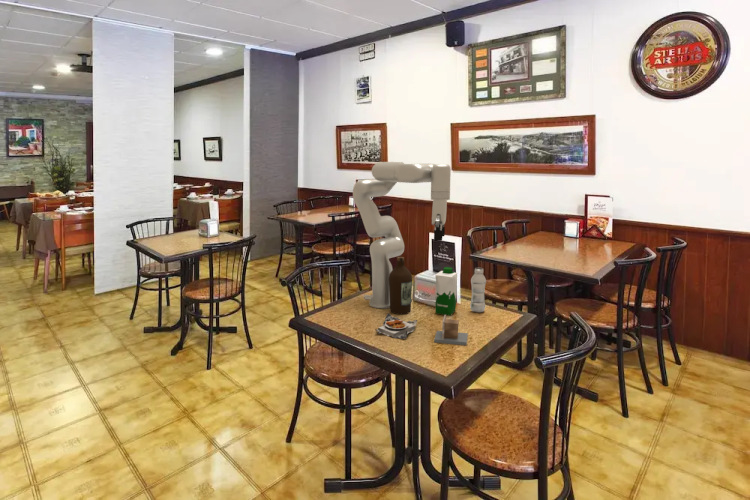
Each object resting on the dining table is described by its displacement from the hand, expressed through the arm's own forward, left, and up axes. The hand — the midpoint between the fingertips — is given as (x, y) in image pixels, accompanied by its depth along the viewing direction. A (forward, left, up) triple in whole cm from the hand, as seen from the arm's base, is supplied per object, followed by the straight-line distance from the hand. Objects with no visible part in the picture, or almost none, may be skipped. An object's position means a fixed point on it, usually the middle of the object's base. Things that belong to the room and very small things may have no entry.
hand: (439, 238), depth 180 cm
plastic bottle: (+16, +18, -36) cm, 44 cm away
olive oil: (-18, +11, -36) cm, 42 cm away
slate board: (+7, -16, -36) cm, 40 cm away
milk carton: (+2, +14, -36) cm, 39 cm away
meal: (-8, -13, -34) cm, 38 cm away
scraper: (+7, -16, -35) cm, 39 cm away
